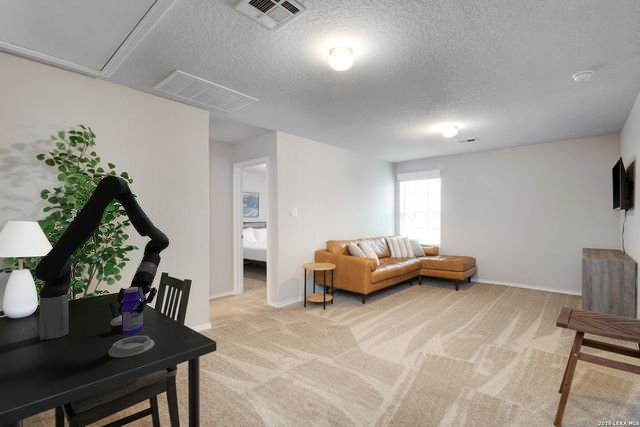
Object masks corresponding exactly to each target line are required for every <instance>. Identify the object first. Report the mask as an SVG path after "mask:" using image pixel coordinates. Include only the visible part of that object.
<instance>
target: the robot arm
mask: <svg viewBox="0 0 640 427" xmlns="http://www.w3.org/2000/svg"><path fill="white" fill-rule="evenodd" d="M114 199H115V200H116V201H117V202H118V203H119V204H120V206H121V207H122V208H123V209H124V211H125V213H126V215H127V218H128V220H129V222H130V224H131V226H133V228H134V229H135V231H136V232H137V233H138V235H140V237H148V238H149V239H150V240H149V241H148V242H147V243H146V244H145V246H144V250H143V257H142V259H141V261H140V263H139V265H138V266H137V268H136V271H135V273H134V275H133V278H132V279H131V282H130V286H129V287H138V294H139V296H140V301H141V303H140V304H139V306H138V309H137V313H138V314H141V312H143V311H144V309H145V306H146V305H148V304H152V303H153V301H154V299H155V296H156V295H157V293H158V289H157V288H156V286H153V282H154V281H155V277H156V276H157V272H158V268H159V265H160V263H161V258H162V257H161V256H160V254H161V252H162V251H165V250H166V249H167V248H168V247H169V246H170V240H169V237H168V236H167V235H166V234H165V233H164V232H163V231H161V230H160V229H159V228H158V227H156V226H155V225H154V223H153V222H152V221H151V218H149V216H148V215H147V214H146V213H145V212H144V210H143V208H142V207H141V206H140V204H139V203H138V201H137V200H136V197H135V196H134V194H133V192H132V189H131V188H130V186H129V184H128V183H127V181H126V179H124V178H122V177H119V176H116V175H106V176H104V177H103V178H102V179H100V180H99V182H98V184H97V186H96V187H95V189H94V191H93V192H92V194H91V196H90V197H89V199H88V200H87V201H86V203H85V204H84V205H83V207H82V208H80V211H78V213H77V214H76V216H75V217H74V218H73V219H72V220H71V222H70V223H69V225H68V226H67V227H66V229H65V230H64V232H63V233H62V234H61V236H60V238H59V239H58V240H57V241H56V242H55V245H54V246H52V248H51V249H50V250H49V251H48V252H47V254H45V256H43V257H42V258H41V260H40V261H38V263H37V264H36V266H35V268H34V275H35V277H36V278H37V280H39V281H42V282H44V284H43V287H42V288H41V289H40V290H39V341H45V340H53V339H58V338H61V337H64V336H66V335H68V334H69V290H70V289H69V288H70V287H71V276H72V266H71V263H70V261H69V259H70V258H71V257H72V256H73V255H74V253H75V252H77V251H78V250H80V248H82V247H83V246H84V245H85V244H86V243H87V242H88V241H89V240H90V239H91V238H92V236H94V234H95V233H96V231H97V230H98V228H99V227H100V225H101V223H102V221H103V216H104V214H105V211H106V209H107V207H108V206H109V204H110V203H112V201H113V200H114ZM152 286H153V287H152ZM125 289H126V288H124V287H121V288H119V292H118V295H117V298H116V301H117V303H118V304H119V307H118V310H117V312H118V313H119V315H122V311H121V309H122V306H123V304H124V302H123V300H124V298H125ZM147 295H148V296H147Z"/></svg>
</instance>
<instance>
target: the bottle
mask: <svg viewBox="0 0 640 427" xmlns="http://www.w3.org/2000/svg"><path fill="white" fill-rule="evenodd" d="M124 289H125V297H124V300H123V302H124V304H123V306H122V309H121V311H122V314H121V315H122V332H121V333H122V335H124V336H134V335H135V334H138V333H139V332H141V331H142V330H143V329H144V319H143V318H144V315H143V312H141V314H138V313H137V309H138V306H139V304H140V303H141V298H140V296H139V294H138V287H130V286H129V287H126V288H124Z"/></svg>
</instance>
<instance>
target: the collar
mask: <svg viewBox="0 0 640 427" xmlns="http://www.w3.org/2000/svg"><path fill="white" fill-rule="evenodd" d="M154 346H155V341H154V340H153V339H151V338H150V336H148V335H131V336H129V337H128V336H127V337H124V338H122V339H120V340H117V341H116V342H114V343H113V344H112V346H111V347H110V349H108V351H107V352H108V353H107V354H108V356H110V357H112V358H127V357H134V356H138V355H141V354H143V353H146V352H148V351H150V350H151V349H153V347H154Z"/></svg>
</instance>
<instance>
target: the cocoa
mask: <svg viewBox="0 0 640 427" xmlns="http://www.w3.org/2000/svg"><path fill="white" fill-rule="evenodd" d="M108 304H109V305H108V306H109V308H110V312H111V315H112V319H111V321H110V329H111V331H112V332H113V333H115V334H117V333H122V314H119V316H117V313H116V309H115V305H114V302H109V303H108Z"/></svg>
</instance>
